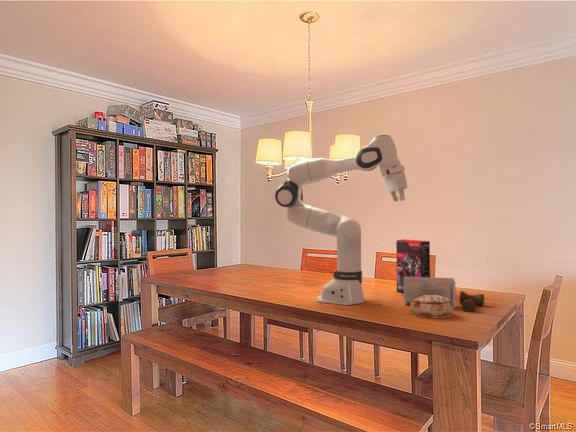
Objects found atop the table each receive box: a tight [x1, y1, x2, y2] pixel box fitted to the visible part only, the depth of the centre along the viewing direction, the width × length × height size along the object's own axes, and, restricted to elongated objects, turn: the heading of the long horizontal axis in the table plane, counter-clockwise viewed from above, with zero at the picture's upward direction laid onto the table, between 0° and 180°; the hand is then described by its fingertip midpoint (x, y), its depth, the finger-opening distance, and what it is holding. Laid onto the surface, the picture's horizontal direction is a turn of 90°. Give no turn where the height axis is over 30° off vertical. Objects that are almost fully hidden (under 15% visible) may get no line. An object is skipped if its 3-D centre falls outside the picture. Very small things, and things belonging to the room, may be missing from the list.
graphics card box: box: [395, 238, 431, 294], centre depth 186 cm, size 17×7×27 cm, turn 27°
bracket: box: [403, 276, 457, 309], centre depth 164 cm, size 21×6×12 cm, turn 73°
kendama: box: [459, 290, 485, 313], centre depth 161 cm, size 6×10×20 cm
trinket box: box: [410, 295, 454, 319], centre depth 149 cm, size 13×15×8 cm
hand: (399, 200), depth 164 cm, fingers open, 8 cm apart
